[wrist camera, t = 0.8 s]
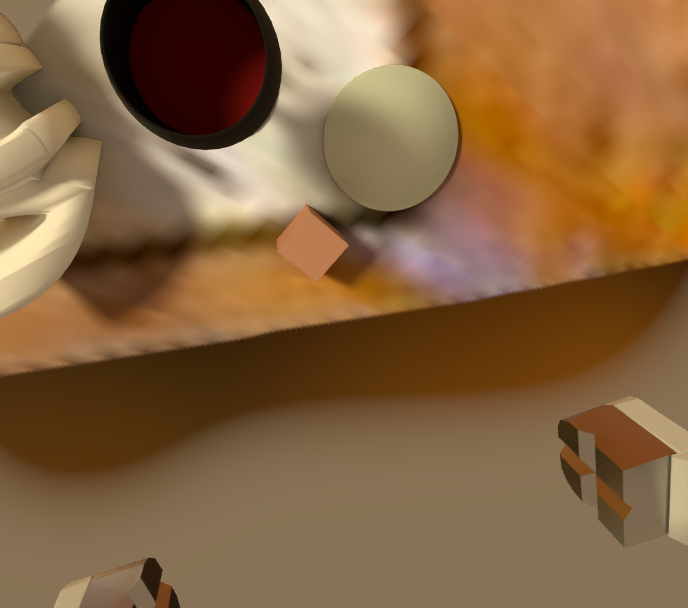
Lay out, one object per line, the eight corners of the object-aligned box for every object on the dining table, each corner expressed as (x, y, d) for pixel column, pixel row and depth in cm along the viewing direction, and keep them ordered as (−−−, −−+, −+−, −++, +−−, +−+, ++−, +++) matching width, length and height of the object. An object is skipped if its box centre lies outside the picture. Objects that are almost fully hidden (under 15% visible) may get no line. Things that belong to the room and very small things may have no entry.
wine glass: (248, 159, 46) (238, 186, 28) (144, 105, 43) (54, 94, 24) (294, 57, 43) (316, 11, 25) (187, -9, 40) (121, -117, 22)
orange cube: (306, 204, 49) (310, 212, 44) (341, 233, 50) (349, 245, 46) (276, 239, 49) (277, 252, 45) (311, 267, 51) (316, 282, 47)
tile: (388, 31, 44) (391, 30, 43) (481, 135, 49) (484, 135, 48) (294, 148, 46) (295, 148, 45) (391, 235, 51) (393, 237, 50)
